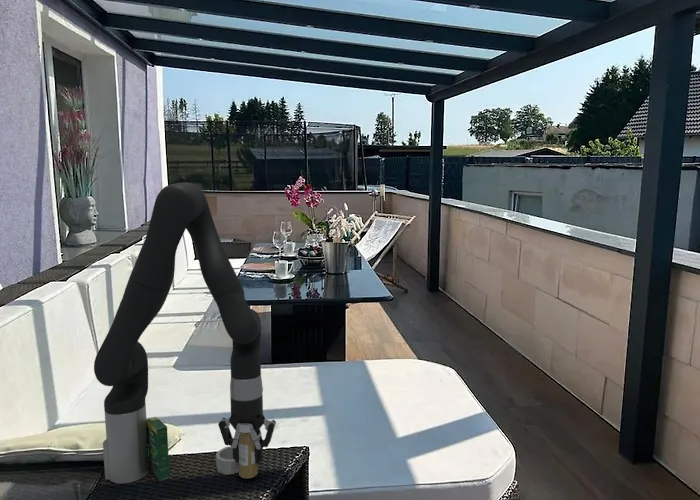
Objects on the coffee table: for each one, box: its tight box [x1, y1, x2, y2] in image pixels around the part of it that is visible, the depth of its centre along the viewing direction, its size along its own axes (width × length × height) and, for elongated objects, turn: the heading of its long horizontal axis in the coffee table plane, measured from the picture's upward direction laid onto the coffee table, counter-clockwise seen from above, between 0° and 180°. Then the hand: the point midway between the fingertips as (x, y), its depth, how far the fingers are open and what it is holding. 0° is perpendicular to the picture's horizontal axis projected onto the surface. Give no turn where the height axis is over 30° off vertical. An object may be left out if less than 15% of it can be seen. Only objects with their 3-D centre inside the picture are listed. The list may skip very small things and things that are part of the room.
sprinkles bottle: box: [238, 423, 259, 479], centre depth 124 cm, size 5×5×14 cm
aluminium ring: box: [215, 445, 240, 476], centre depth 130 cm, size 8×8×4 cm
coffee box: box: [146, 416, 171, 482], centre depth 127 cm, size 8×3×13 cm, turn 38°
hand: (248, 461), depth 124 cm, fingers closed on sprinkles bottle, 4 cm apart
